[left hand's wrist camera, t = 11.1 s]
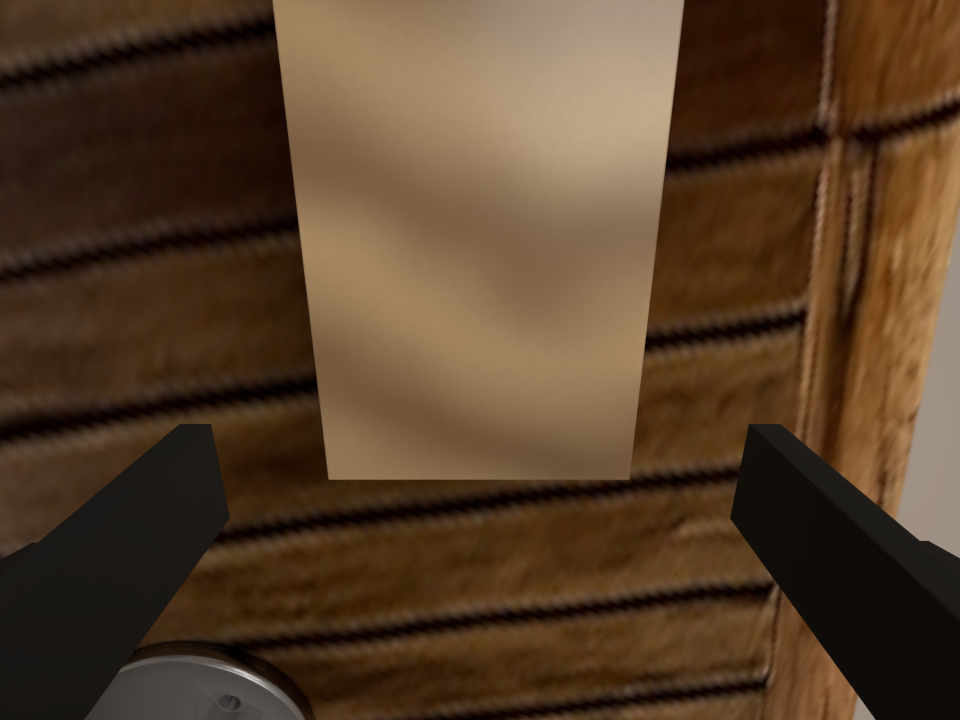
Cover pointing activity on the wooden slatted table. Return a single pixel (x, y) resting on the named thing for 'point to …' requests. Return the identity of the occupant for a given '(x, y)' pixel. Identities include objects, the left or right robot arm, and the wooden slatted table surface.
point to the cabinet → (478, 227)
